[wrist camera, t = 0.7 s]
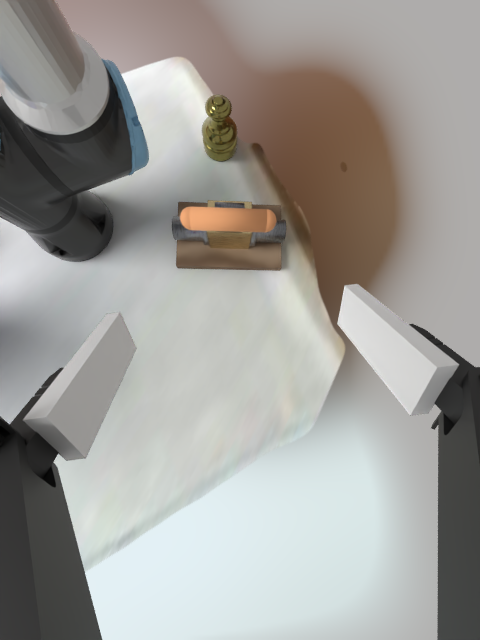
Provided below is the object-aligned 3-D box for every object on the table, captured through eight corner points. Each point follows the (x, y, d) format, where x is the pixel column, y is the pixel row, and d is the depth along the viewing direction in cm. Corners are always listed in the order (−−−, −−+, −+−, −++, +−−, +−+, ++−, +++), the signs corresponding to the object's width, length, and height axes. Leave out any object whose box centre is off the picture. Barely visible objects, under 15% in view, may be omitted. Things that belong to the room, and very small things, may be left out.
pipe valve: (279, 270, 49) (290, 255, 40) (177, 268, 48) (166, 252, 39) (279, 209, 50) (289, 183, 42) (180, 206, 49) (169, 178, 41)
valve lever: (261, 220, 41) (276, 235, 27) (197, 218, 41) (179, 232, 26) (262, 203, 40) (279, 209, 26) (196, 200, 39) (176, 205, 25)
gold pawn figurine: (199, 137, 51) (191, 88, 41) (229, 128, 51) (229, 77, 42) (210, 166, 50) (206, 123, 40) (241, 156, 51) (244, 111, 41)
